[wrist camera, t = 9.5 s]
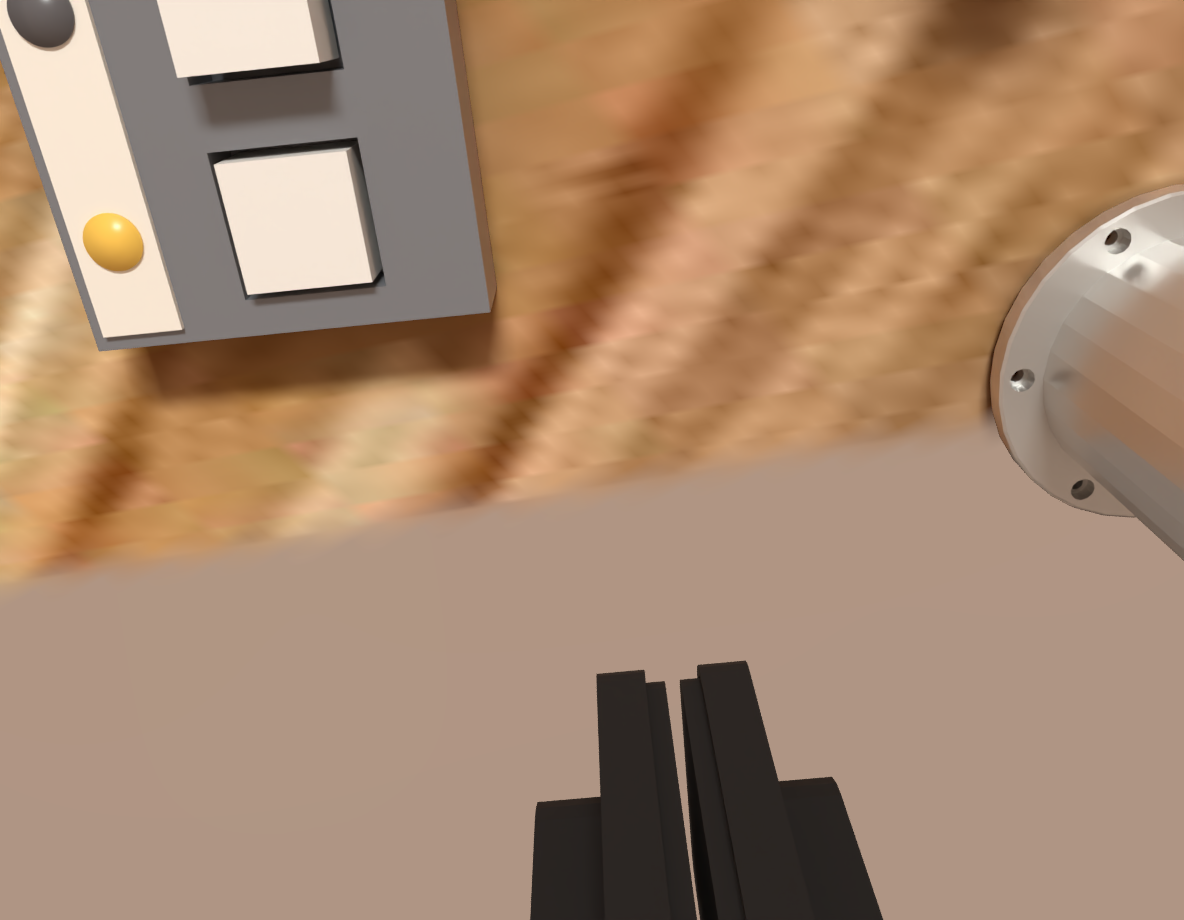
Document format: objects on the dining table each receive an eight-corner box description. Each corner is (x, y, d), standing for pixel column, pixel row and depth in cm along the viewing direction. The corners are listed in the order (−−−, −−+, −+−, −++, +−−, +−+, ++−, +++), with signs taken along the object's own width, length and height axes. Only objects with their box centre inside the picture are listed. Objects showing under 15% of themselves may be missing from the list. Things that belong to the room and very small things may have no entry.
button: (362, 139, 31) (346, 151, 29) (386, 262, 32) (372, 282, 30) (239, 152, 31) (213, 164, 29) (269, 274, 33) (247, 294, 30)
